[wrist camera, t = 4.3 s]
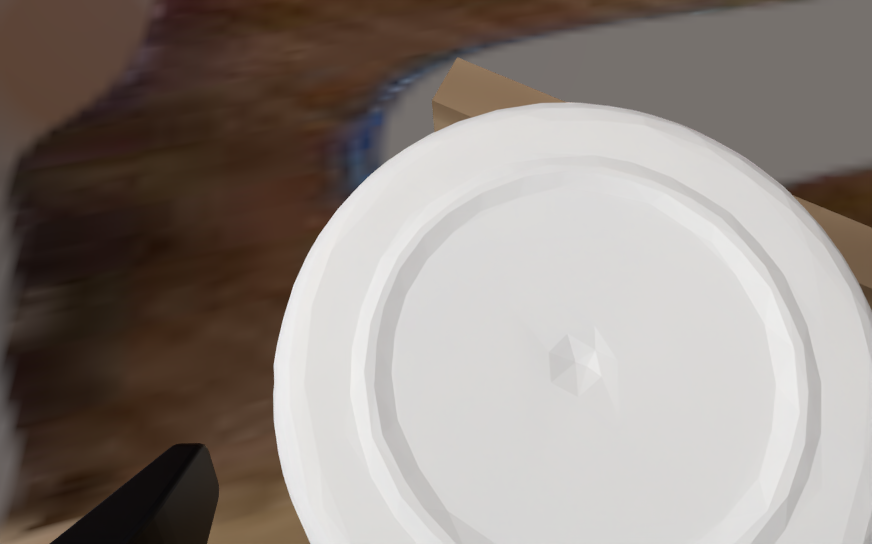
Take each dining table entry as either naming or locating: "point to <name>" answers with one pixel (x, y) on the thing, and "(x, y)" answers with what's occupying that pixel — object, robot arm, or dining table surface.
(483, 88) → the bay rail
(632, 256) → the sprinkles bottle
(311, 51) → the dining table surface
